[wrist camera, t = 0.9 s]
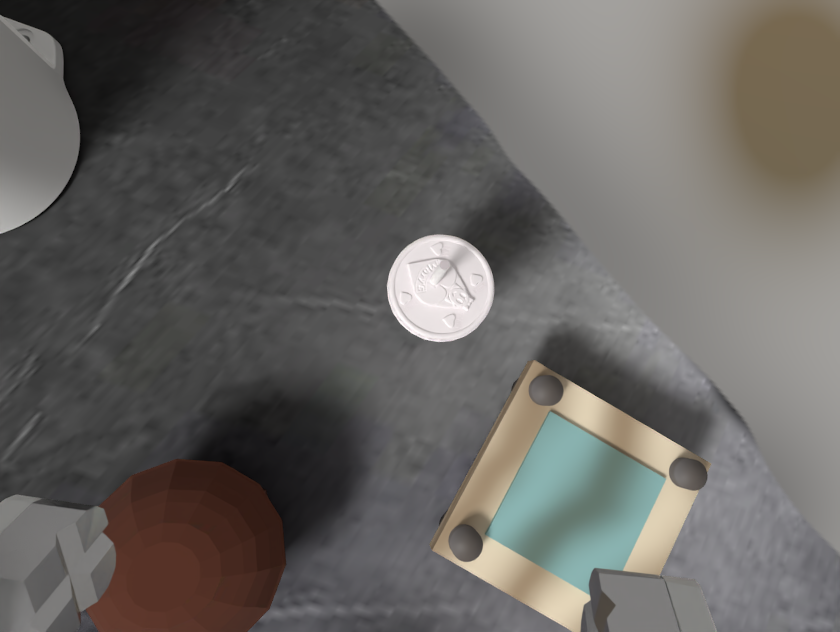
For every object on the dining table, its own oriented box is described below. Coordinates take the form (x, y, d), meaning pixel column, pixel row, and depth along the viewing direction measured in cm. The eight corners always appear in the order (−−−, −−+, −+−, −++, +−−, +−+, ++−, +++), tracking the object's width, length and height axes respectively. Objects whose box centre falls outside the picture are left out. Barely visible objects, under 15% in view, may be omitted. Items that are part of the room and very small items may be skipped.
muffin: (269, 425, 42) (240, 435, 32) (320, 577, 41) (307, 635, 31) (101, 486, 40) (17, 516, 30) (150, 646, 39) (79, 730, 29)
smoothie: (411, 251, 45) (434, 187, 31) (482, 297, 45) (537, 254, 31) (365, 321, 44) (367, 288, 30) (438, 369, 44) (473, 357, 30)
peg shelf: (424, 533, 42) (434, 555, 36) (516, 363, 44) (539, 359, 39) (593, 631, 42) (628, 667, 37) (676, 456, 45) (721, 465, 39)
